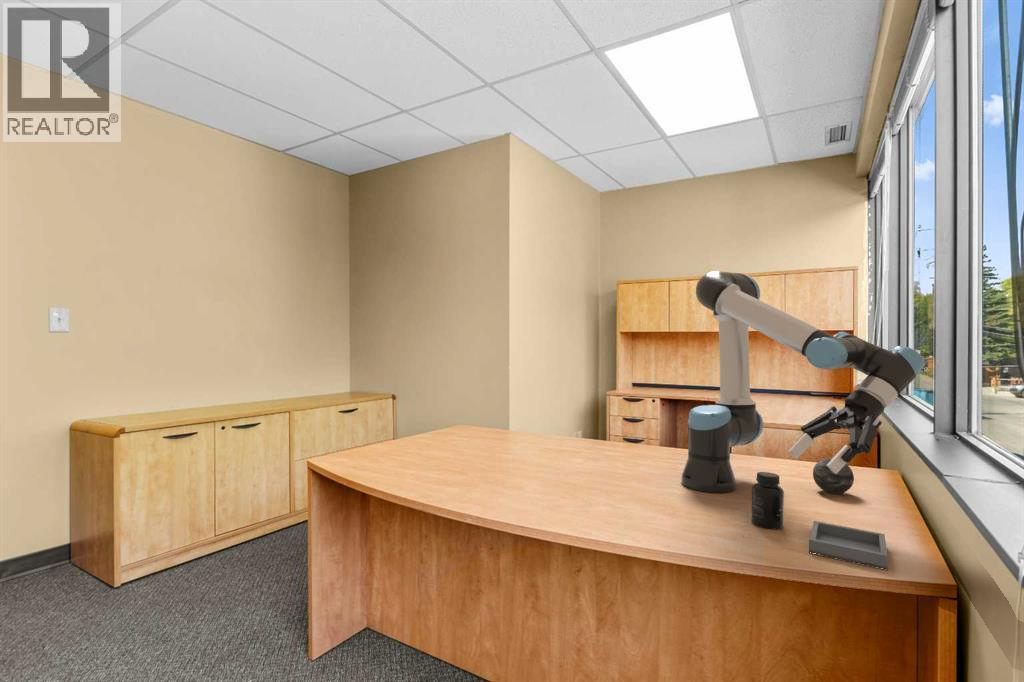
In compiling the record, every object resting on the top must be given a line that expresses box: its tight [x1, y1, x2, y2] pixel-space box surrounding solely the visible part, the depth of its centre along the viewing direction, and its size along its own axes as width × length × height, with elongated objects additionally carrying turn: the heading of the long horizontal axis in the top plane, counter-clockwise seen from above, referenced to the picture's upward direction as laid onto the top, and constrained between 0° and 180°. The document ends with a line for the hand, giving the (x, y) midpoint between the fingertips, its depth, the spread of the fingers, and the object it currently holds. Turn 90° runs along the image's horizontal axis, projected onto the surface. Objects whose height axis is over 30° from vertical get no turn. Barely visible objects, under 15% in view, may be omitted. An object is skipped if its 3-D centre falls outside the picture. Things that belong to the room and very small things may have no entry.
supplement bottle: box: [750, 471, 785, 530], centre depth 120 cm, size 7×7×12 cm
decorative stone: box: [812, 457, 855, 495], centre depth 144 cm, size 10×10×10 cm
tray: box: [808, 520, 889, 570], centre depth 106 cm, size 13×13×3 cm
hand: (810, 462), depth 120 cm, fingers open, 13 cm apart
